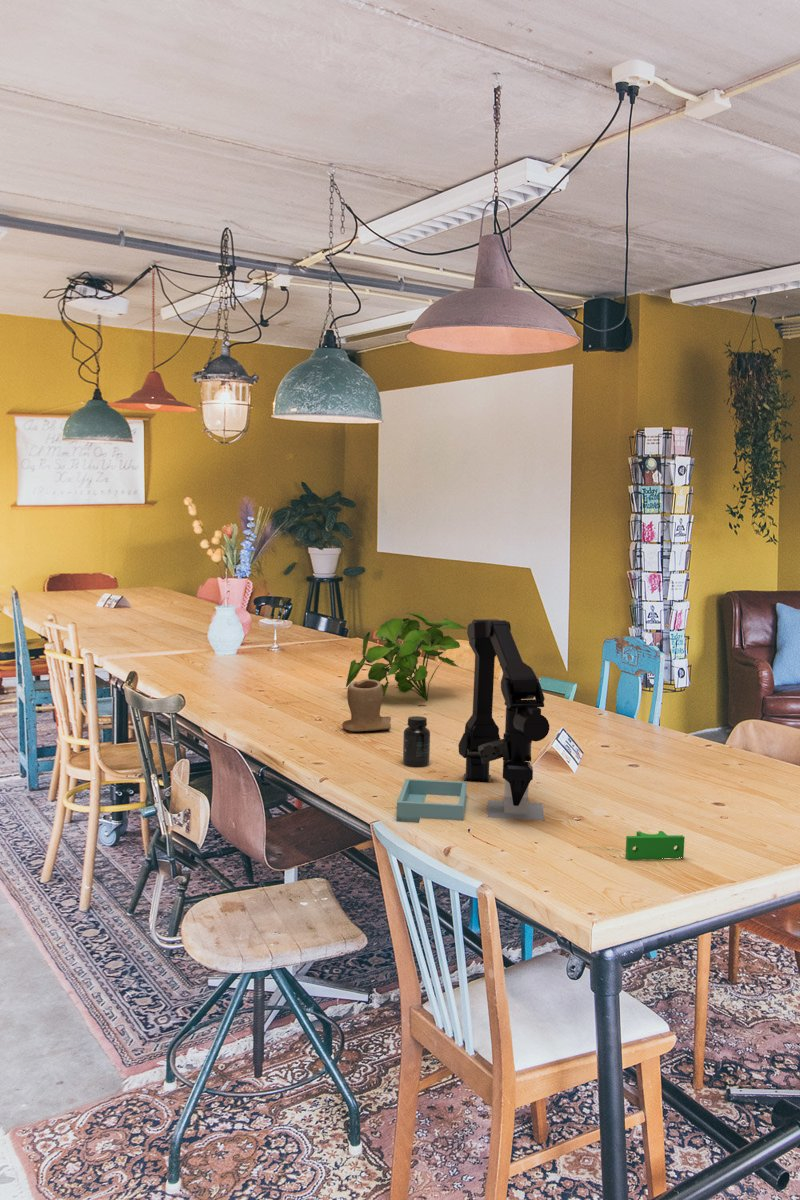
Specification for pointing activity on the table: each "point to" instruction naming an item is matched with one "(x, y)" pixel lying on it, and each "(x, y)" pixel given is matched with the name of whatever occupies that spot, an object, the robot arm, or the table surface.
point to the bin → (415, 807)
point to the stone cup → (366, 707)
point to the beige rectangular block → (509, 802)
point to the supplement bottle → (416, 742)
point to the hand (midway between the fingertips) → (515, 800)
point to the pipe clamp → (654, 846)
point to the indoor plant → (405, 652)
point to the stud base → (498, 812)
